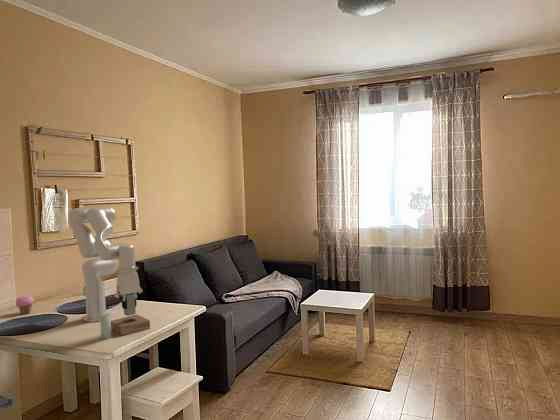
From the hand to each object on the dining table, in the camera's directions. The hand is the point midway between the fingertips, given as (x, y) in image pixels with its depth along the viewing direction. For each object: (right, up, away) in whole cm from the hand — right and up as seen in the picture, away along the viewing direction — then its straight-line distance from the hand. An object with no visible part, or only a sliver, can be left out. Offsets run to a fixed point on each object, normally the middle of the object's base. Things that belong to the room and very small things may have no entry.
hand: (129, 307), depth 204 cm
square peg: (0, -3, 0) cm, 3 cm away
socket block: (0, -11, +1) cm, 11 cm away
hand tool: (-27, -9, +43) cm, 52 cm away
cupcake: (-70, -11, +32) cm, 78 cm away
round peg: (-7, -11, -11) cm, 17 cm away
